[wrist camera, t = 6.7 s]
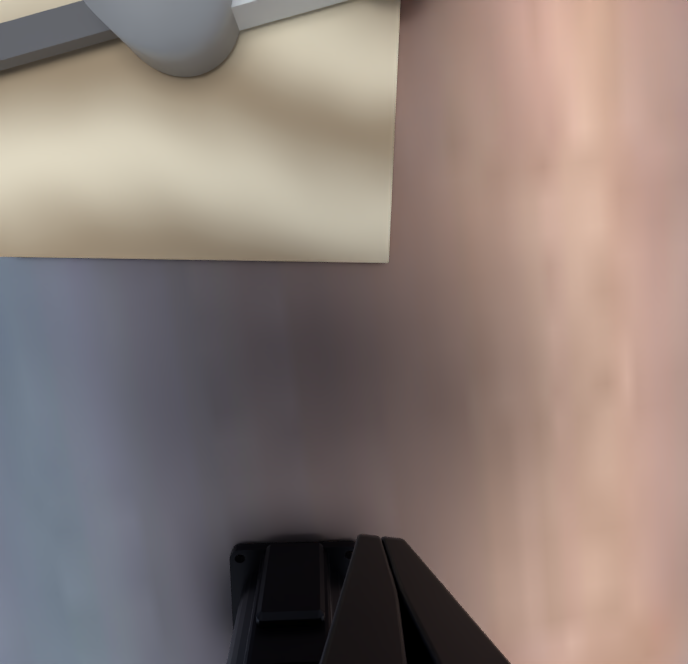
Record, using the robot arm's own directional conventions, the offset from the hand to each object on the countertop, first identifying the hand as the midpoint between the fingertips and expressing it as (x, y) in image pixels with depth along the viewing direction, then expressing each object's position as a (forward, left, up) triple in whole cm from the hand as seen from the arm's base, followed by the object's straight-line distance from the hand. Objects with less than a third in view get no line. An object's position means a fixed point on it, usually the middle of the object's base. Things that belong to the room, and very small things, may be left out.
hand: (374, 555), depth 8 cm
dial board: (+10, +7, -12) cm, 18 cm away
